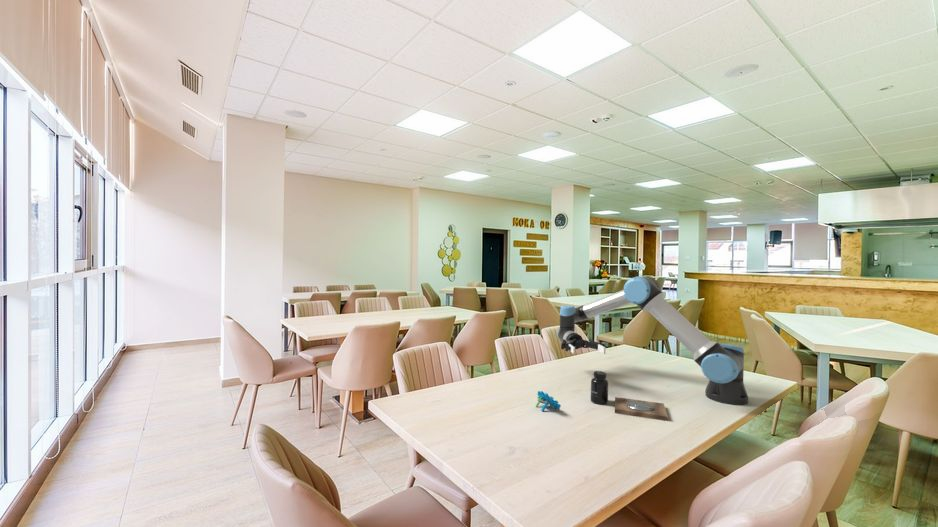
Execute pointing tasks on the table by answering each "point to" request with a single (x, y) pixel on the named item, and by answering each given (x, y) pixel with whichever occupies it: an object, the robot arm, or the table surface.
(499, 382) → the table surface
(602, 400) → the supplement bottle
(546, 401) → the gear
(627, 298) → the robot arm
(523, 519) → the table surface
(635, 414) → the walnut board
